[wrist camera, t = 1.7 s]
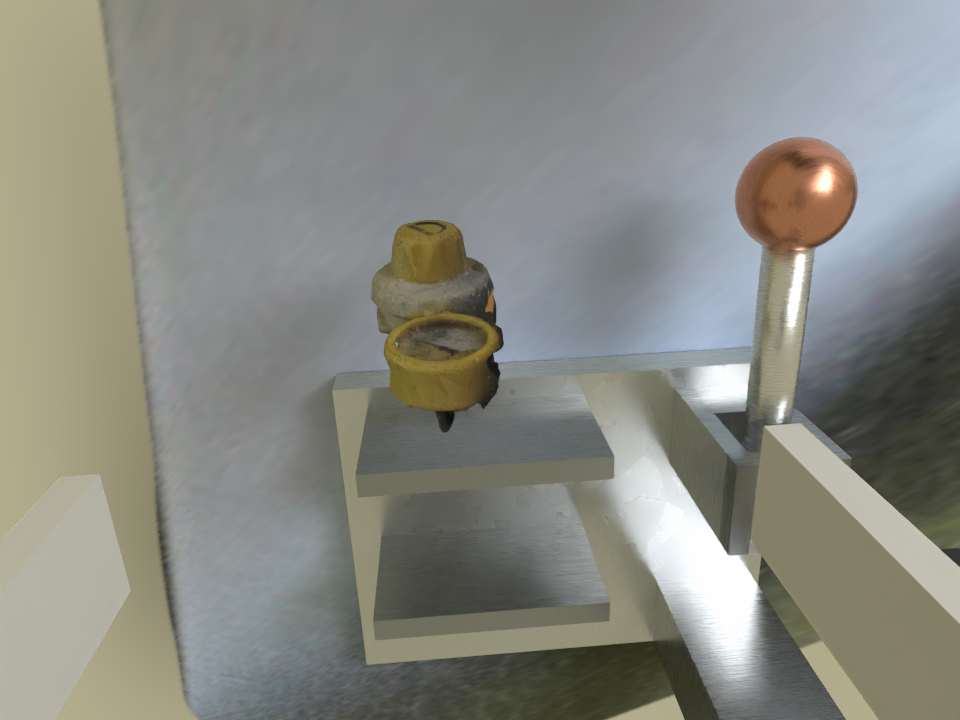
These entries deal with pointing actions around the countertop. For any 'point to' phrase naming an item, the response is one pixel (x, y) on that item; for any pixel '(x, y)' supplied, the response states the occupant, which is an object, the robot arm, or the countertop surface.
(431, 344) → the regulator
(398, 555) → the press
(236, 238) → the countertop surface
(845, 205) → the lever
